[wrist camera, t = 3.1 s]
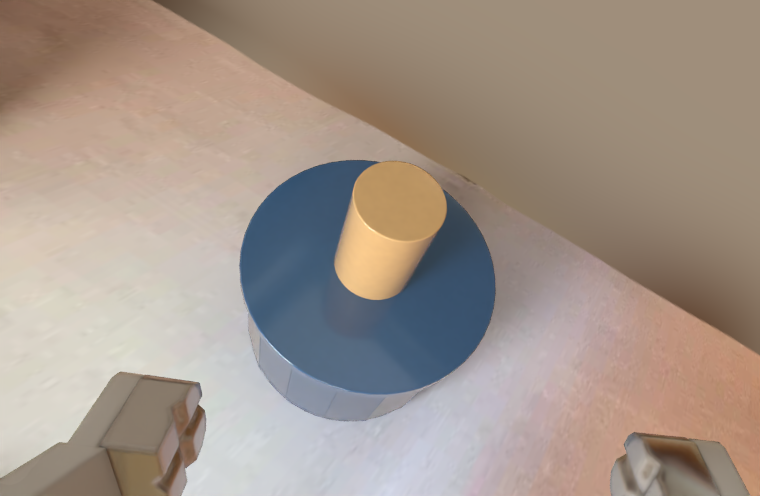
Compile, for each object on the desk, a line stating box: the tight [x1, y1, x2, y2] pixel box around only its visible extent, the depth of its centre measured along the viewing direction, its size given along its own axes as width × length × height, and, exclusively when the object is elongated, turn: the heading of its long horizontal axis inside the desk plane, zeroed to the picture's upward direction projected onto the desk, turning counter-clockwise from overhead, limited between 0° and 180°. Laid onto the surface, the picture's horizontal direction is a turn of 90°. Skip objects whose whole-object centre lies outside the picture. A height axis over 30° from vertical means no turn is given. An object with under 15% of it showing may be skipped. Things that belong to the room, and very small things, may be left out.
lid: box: [239, 160, 495, 398], centre depth 28 cm, size 14×14×8 cm
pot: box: [248, 314, 419, 421], centre depth 34 cm, size 13×13×8 cm
